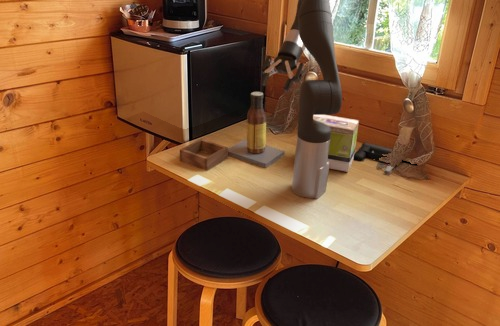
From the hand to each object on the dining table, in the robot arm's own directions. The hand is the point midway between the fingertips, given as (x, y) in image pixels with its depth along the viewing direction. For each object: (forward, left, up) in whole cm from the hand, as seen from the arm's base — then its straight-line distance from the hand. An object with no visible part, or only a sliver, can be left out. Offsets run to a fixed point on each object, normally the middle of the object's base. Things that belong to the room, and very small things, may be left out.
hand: (274, 87), depth 161 cm
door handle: (-37, -12, -22) cm, 45 cm away
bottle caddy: (+11, +24, -21) cm, 33 cm away
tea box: (-22, 0, -21) cm, 31 cm away
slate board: (0, +10, -21) cm, 23 cm away
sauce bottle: (0, +10, -20) cm, 22 cm away
